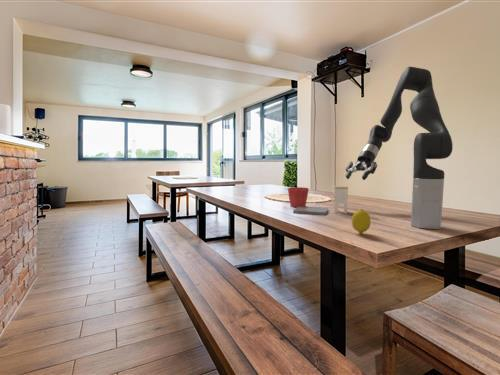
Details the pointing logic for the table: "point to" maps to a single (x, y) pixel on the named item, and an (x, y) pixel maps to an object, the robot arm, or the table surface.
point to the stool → (340, 197)
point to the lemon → (361, 221)
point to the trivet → (310, 210)
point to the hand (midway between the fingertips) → (354, 178)
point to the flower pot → (298, 196)
